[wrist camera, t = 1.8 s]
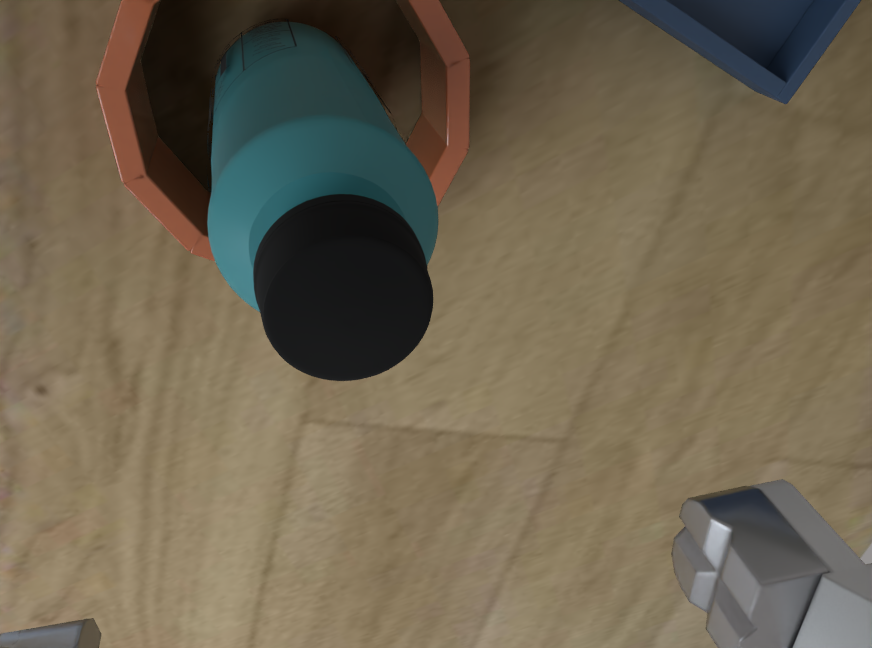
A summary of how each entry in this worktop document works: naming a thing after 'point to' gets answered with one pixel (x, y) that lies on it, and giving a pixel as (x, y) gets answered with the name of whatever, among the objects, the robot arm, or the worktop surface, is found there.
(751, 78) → the tray
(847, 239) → the worktop surface
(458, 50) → the bowl
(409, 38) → the worktop surface
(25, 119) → the worktop surface
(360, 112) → the beverage bottle
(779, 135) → the worktop surface
